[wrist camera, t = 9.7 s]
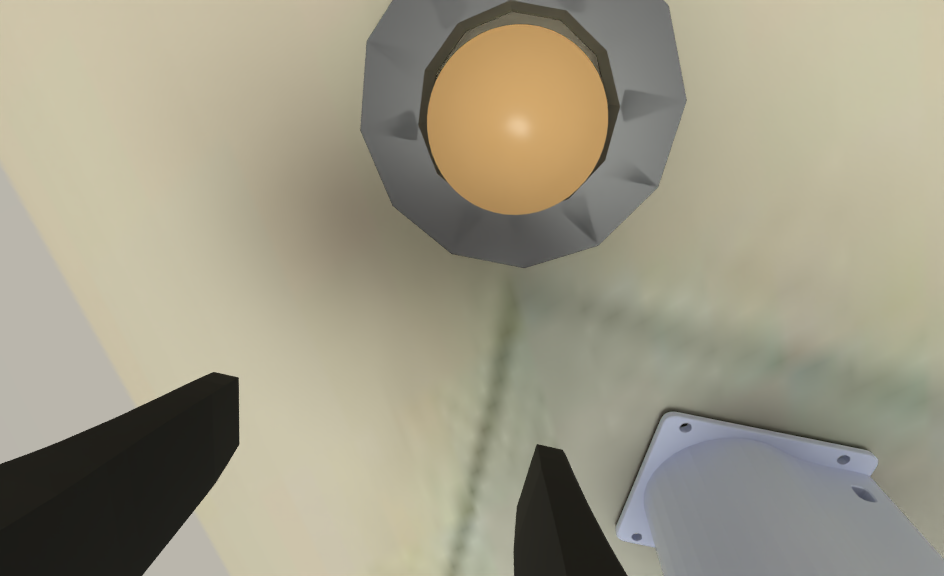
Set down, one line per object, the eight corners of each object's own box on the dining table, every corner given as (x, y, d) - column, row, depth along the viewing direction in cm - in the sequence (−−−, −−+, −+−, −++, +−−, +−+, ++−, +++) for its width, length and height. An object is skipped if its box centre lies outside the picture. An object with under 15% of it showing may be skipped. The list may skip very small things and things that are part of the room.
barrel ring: (705, -24, 15) (733, -42, 13) (613, 266, 19) (624, 287, 17) (396, -80, 15) (376, -105, 13) (370, 219, 19) (352, 234, 17)
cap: (603, 61, 16) (635, 50, 12) (561, 196, 18) (575, 232, 14) (468, 27, 16) (446, 3, 12) (440, 165, 18) (413, 192, 14)
